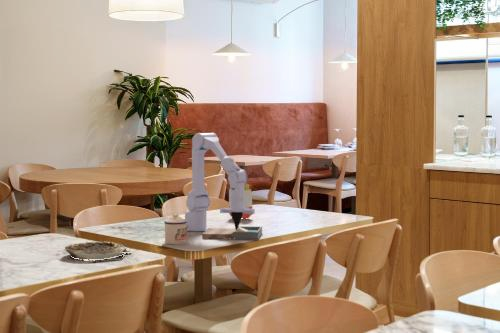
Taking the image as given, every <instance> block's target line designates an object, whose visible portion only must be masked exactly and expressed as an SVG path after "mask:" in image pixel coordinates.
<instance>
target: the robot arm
mask: <svg viewBox="0 0 500 333" xmlns="http://www.w3.org/2000/svg"><path fill="white" fill-rule="evenodd" d="M191 143H192V144H191V145H192V146H191V168H192V169H191V170H192V172H191V173H192V176H191V178H192V180H191V182H192V184H191V186H192V189H191V190H190V191H188V193H187V198H186V202H185V204H186V207H187V210H185V213H184V219H185V220H186V221H187V223H186V224H187V225H188V231H187V232H205V231H206V230H207V229H209V228H210V227H207V226H208V225H207V211H208V209H209V207H210V205H211V199H210V196H209V195H210V194H209V192H208V190H207V189H205V187H206V185H205V184H206V183H205V154H206V152H208V151H209V150H210V151H212V153H213V154H214V155H215V156H216V157H217V158H218V159H219V160H220V166H221V168H222V169H223V171H224V172H225V173H226V174H227V180H228V182H229V189H230V188H231V208H229V207H220V208H219V213H220V214H229V213H231V215H230V217H231V219H232V221H233V224H234V229H236V230H237V228H238V227H239V226H240V223H241V221H242V220H241V218H242V216H243V213H247V214H252V215H254V214H255V211H256V210H255V208H252V209H248V208H244V186H245V183H246V182H247V181H248V174H247V171H246V170H245V169H242V168H241V167H239V166H238V164H237V162H236V161H235V159H234V158H233V157H231V156H228V155H227V153H226V151H225V149H224V148H223V147H222V145H221V144H220V139H219V137H218V136H217V134H216V133H215V132H203V133H201V132H198V133H195V134H194V136H192V138H191ZM233 211H237V212H233ZM239 211H241V212H239Z"/></svg>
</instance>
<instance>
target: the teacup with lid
mask: <svg viewBox="0 0 500 333" xmlns="http://www.w3.org/2000/svg"><path fill="white" fill-rule="evenodd" d="M163 223H164V243H165V244H166V245H185V244H186V243H187V233H188V232H189V231H188V225H187V224H186V223H187V221H186V220H185V218H183V217H181V216H179V214H177V213H174V214H173V215H172V216H171V217H169V218H168V219H165V220H164V222H163Z"/></svg>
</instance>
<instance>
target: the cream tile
mask: <svg viewBox="0 0 500 333" xmlns="http://www.w3.org/2000/svg"><path fill="white" fill-rule="evenodd" d="M247 231H248V230H246V229H244V228H241V227H238V228H237V230H236V232H247Z"/></svg>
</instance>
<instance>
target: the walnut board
mask: <svg viewBox="0 0 500 333" xmlns="http://www.w3.org/2000/svg"><path fill="white" fill-rule="evenodd" d="M208 228H209V229H207V230H206V231H203V232H202V233H201V239H202V238H228V239H227V240H234V239H233V232H236V229H235V228H227V227H226V228H223V227H222V228H219V227H218V228H215V227H213V228H212V227H208ZM229 238H231V239H229Z"/></svg>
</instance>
